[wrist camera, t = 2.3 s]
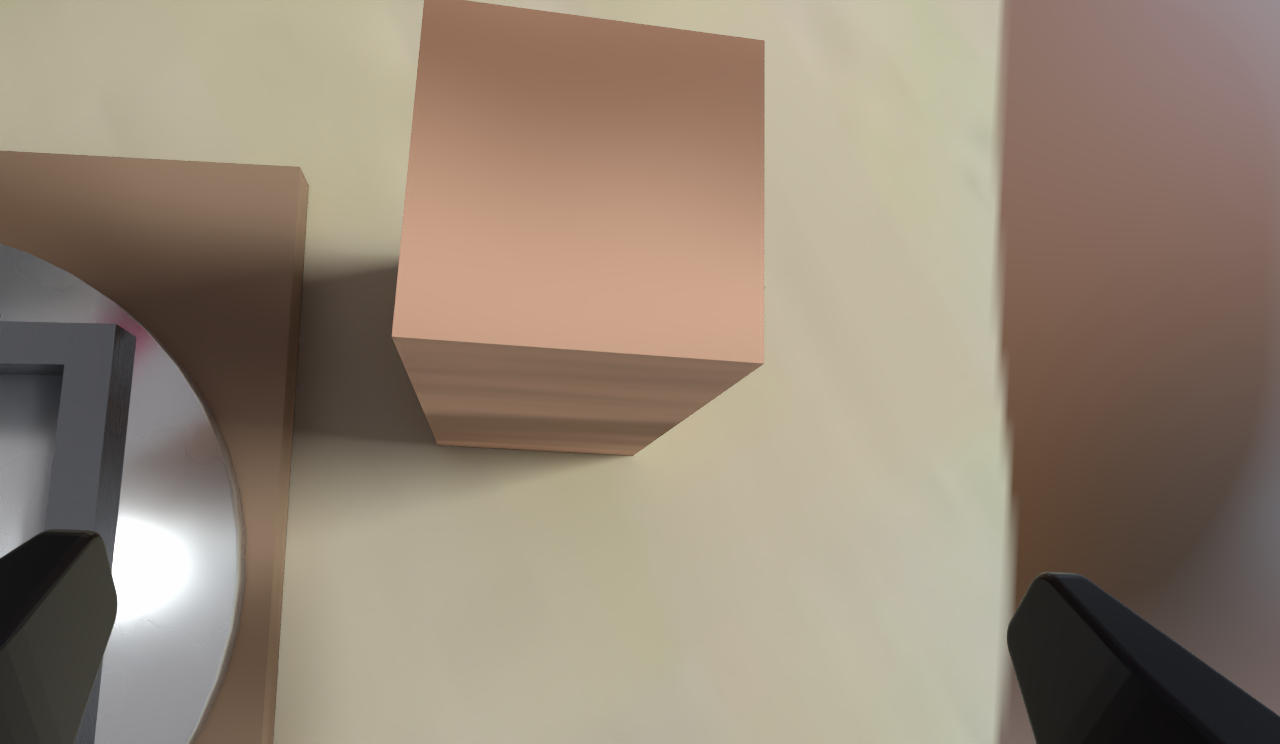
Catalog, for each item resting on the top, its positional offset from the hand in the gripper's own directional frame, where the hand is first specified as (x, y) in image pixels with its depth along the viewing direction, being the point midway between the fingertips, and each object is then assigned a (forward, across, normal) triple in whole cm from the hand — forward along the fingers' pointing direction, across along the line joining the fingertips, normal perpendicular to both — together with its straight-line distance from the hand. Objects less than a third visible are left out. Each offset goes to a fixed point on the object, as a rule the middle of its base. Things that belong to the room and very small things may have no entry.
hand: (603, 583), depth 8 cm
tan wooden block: (+12, 0, +5) cm, 13 cm away
